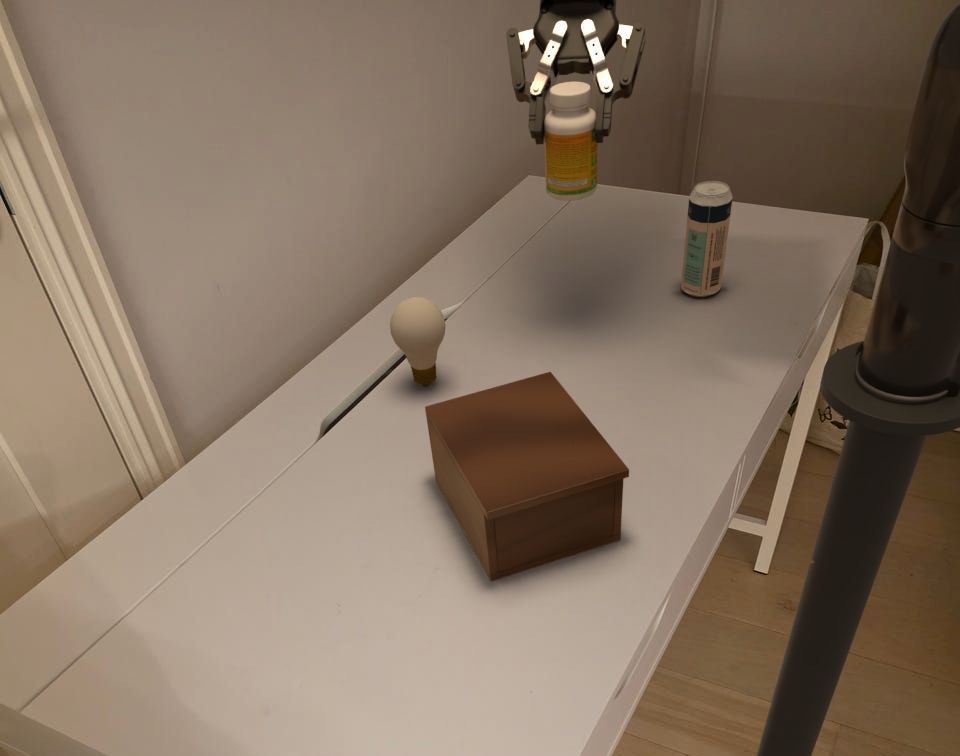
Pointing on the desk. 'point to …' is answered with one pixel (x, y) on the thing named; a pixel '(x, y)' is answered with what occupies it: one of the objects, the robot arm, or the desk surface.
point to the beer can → (706, 238)
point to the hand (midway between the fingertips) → (569, 139)
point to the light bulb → (419, 335)
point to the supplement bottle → (570, 143)
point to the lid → (524, 444)
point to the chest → (529, 521)
